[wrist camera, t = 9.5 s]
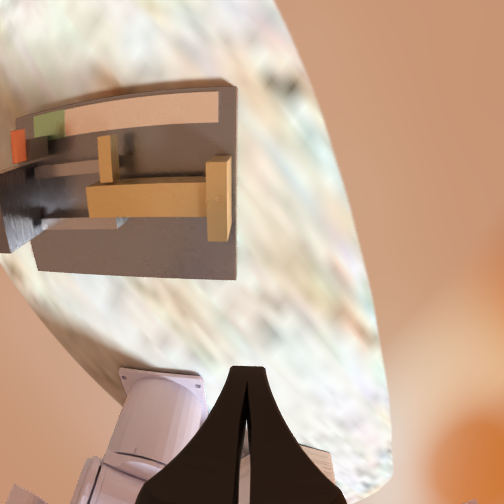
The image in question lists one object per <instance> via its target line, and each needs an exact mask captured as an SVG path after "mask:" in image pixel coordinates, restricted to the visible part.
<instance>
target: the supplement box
mask: <svg viewBox="0 0 504 504" xmlns="http://www.w3.org/2000/svg"><path fill="white" fill-rule="evenodd" d="M300 446H301V445H300ZM301 448H302V449H303V450H304V452H305V453H306V454H307V455H308V457H309V458H310V459H311V460H312V461H313V463H314V464H315V465H316V466H317V467H318V468H319V469H320V470H321V472H322V473H323V474H324V475H325V476H326V477H327V478H328V479H329V480H330V481H331V482H333V483H334V484H335V478H334V472H333V466H332V460H331V454H330V453H328V452H324V451H320V450H316V449H312V448H309V447H305V446H301ZM335 485H336V484H335ZM249 502H250V455H249V454H248V455H247V456H245V457H243V458H242V459H241V463H240V478H239V504H249Z"/></svg>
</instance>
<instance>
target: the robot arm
mask: <svg viewBox="0 0 504 504" xmlns="http://www.w3.org/2000/svg"><path fill="white" fill-rule="evenodd" d="M118 374H119V377H120V379H121V382H122V385H123V387H124V390H125V393H126V395H127V398H126V400H125V403H124V406H123V408H122V411H121V413H120V416H119V419H118V421H117V424H116V427H115V429H114V432H113V435H112V437H111V440H110V443H109V446H108V449H107V452H106V453H105V455H104V457H103V459H102V461H101V458H99V457H97V456H94V457H93V458H88V459H87V460H86V461H85V464H84V467H83V470H82V472H81V475H80V477H79V480H78V483H77V486H76V489H75V491H74V494H73V497H72V500H71V503H70V504H239V478H240V463H241V456H242V449H243V442H244V435H245V428H246V421H247V428H248V442H249V455H250V502H249V504H347V502H346V500H345V498H344V496H343V494H342V492H341V490H340V489H339V488H338V487H337V486H336V485H335V484H334V483H333V482H331V481H330V480H329V479H328V478H327V477H326V476H325V475H324V474H323V473H322V472H321V470H320V469H319V468H318V467H317V466H316V465H315V464H314V463H313V461H312V460H311V459H310V458H309V457H308V455H307V454H306V453H305V452H304V450H303V449H302V448H301V446H300V445H299V443H298V442H297V441H296V439H295V437H294V436H293V434H292V433H291V431H290V429H289V428H288V426H287V424H286V422H285V421H284V419H283V417H282V415H281V413H280V411H279V409H278V406H277V404H276V402H275V400H274V397H273V395H272V392H271V389H270V386H269V383H268V380H267V375H266V370H265V368H264V367H258V366H232V367H230V371H229V374H228V377H227V380H226V382H225V385H224V387H223V389H222V391H221V393H220V395H219V397H218V399H217V401H216V403H215V405H214V407H213V408H212V410H211V412H210V413H209V415H208V410H207V403H206V395H205V388H204V380H203V378H202V377H200V376H193V375H181V374H170V373H160V372H151V371H143V370H136V369H128V368H120V369H119V371H118ZM197 384H198V385H197ZM6 504H47V503H45V501H44V500H42V499H41V498H40V497H39V496H37V495H35V494H34V493H32V492H30V491H28V490H26V489H24V488H22V487H20V486H18V485H16V484H14V485H13V488H12V490H11V492H10V495H9V497H8V499H7V502H6ZM463 504H478V502H477V500H476V499H472V500H470V501H468V502H466V503H463Z"/></svg>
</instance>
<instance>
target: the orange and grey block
mask: <svg viewBox="0 0 504 504" xmlns="http://www.w3.org/2000/svg"><path fill="white" fill-rule="evenodd" d="M11 147H12V159H13V164H15V163H23V162H29V161H33V160H36V159H40V158H43V157H47V156H49V153H48V138H47V136H42V137H36V138H31V139H27V140H25V129H21V130H15V131H12V132H11Z"/></svg>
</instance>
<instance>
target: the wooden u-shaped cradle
mask: <svg viewBox="0 0 504 504" xmlns="http://www.w3.org/2000/svg"><path fill="white" fill-rule="evenodd" d="M97 140H98V158H99V171H100V181H98V182H95V183H93V184H91V185H89V186H87V187H86V195H87V203H88V211H89V218H108V217H207V236H208V241H212V242H227V241H228V237H229V233H230V229H231V225H232V155H215V156H213V157H212V158H210V159H209V160H208V161H207V162H206V176H191V177H154V178H131V179H120V172H119V156H118V134H115V135H106V136H100V137H97Z"/></svg>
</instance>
